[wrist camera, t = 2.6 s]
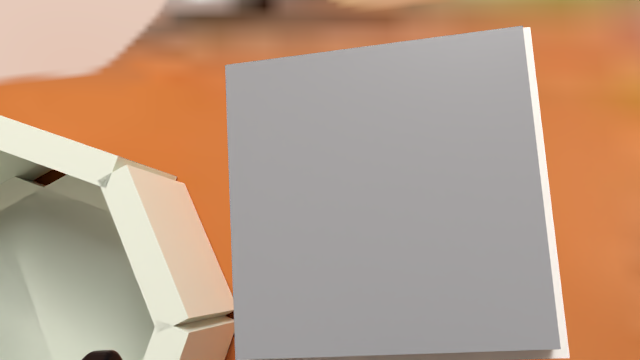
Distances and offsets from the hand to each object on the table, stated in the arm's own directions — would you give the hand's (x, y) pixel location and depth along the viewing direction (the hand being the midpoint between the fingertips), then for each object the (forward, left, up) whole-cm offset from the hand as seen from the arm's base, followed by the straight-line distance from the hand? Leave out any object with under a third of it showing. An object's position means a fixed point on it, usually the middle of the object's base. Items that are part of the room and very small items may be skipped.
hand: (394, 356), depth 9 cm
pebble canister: (+2, +1, -10) cm, 11 cm away
